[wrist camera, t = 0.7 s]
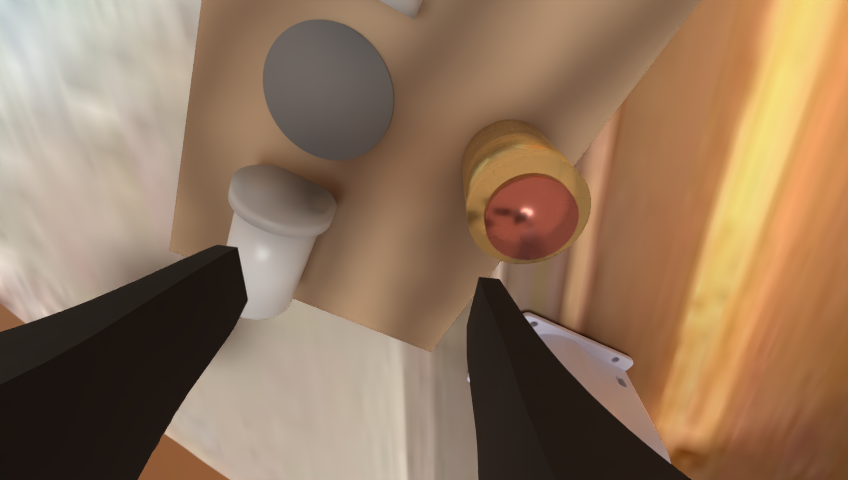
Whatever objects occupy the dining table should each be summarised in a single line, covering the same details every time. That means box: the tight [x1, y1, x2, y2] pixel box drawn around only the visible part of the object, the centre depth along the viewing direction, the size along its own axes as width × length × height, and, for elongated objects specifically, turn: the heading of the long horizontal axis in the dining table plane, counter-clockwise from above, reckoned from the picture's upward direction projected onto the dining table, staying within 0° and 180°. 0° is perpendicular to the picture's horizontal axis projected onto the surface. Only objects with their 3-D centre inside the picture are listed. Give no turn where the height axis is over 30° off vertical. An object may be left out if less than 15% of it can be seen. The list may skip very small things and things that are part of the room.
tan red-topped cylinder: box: [461, 119, 591, 264], centre depth 15 cm, size 4×4×6 cm
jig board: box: [170, 0, 701, 352], centre depth 17 cm, size 18×26×1 cm
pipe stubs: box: [226, 0, 423, 320], centre depth 14 cm, size 5×23×5 cm, turn 153°
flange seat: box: [263, 20, 394, 160], centre depth 16 cm, size 6×6×1 cm
